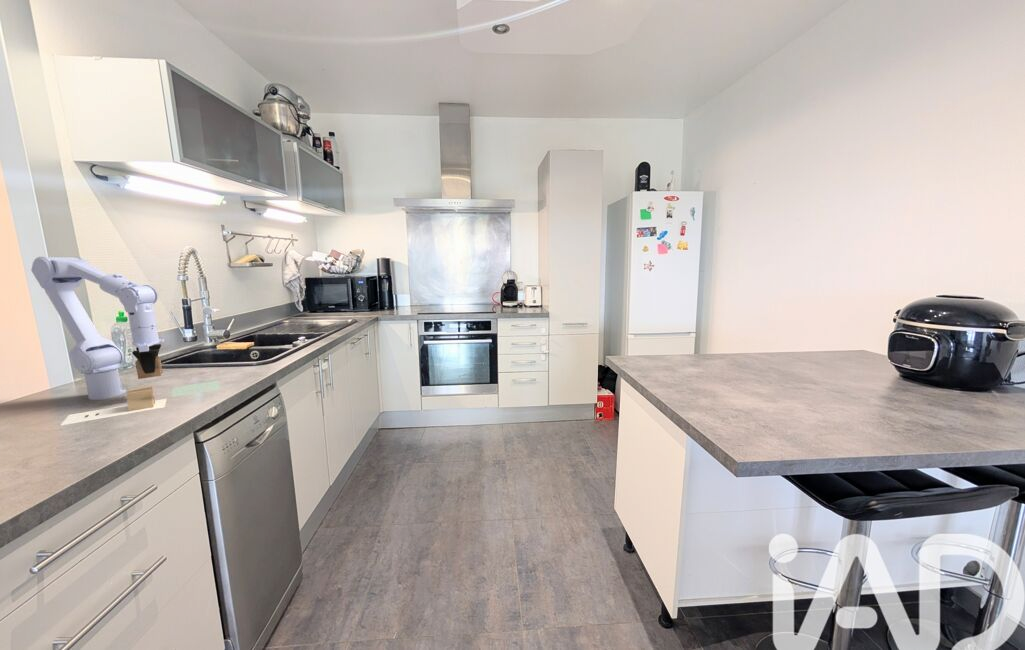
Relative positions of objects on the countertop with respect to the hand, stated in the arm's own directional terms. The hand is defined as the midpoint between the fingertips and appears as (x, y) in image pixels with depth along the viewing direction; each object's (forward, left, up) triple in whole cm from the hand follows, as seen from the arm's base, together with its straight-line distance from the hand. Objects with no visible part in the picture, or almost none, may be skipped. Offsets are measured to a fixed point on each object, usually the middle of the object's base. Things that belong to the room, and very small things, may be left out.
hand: (151, 370), depth 118 cm
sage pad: (-3, +10, -9) cm, 14 cm away
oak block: (+8, -2, -8) cm, 12 cm away
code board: (+8, -7, -9) cm, 14 cm away
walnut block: (0, 0, -1) cm, 1 cm away
